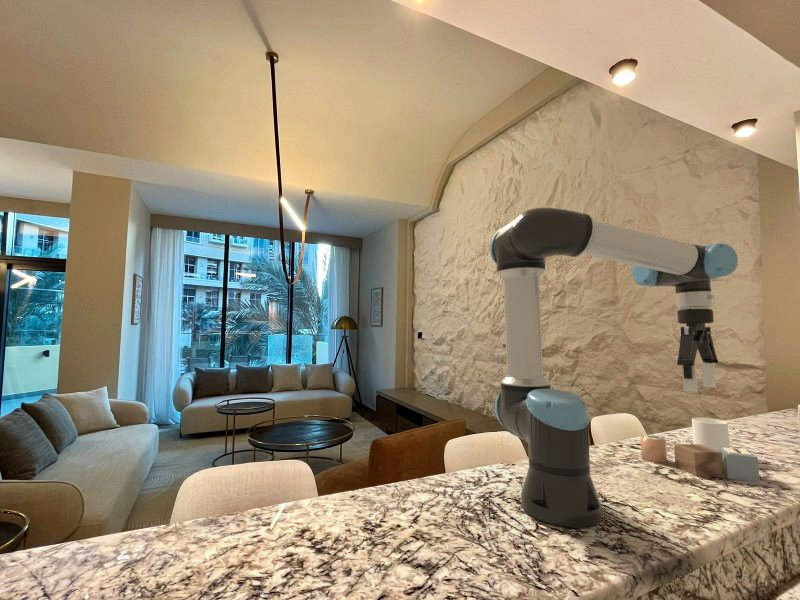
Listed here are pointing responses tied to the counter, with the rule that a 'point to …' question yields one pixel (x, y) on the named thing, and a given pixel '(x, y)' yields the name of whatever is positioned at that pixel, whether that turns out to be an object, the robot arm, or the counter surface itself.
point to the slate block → (740, 464)
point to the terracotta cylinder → (653, 449)
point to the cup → (710, 433)
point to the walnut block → (698, 460)
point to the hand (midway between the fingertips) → (700, 389)
